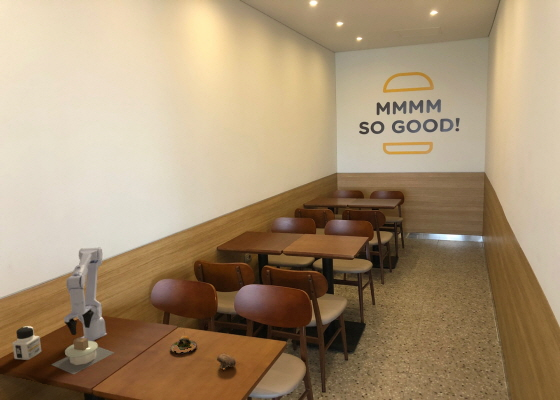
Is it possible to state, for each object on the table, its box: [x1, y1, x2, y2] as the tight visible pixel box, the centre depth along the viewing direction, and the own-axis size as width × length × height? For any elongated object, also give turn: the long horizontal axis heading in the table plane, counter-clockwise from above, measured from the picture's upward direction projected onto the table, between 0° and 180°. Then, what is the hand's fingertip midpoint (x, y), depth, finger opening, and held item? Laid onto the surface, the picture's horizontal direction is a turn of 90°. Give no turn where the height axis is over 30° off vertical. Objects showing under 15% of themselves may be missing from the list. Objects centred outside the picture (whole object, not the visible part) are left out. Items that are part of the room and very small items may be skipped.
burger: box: [169, 331, 198, 354], centre depth 195 cm, size 12×12×8 cm
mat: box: [51, 346, 115, 375], centre depth 189 cm, size 20×16×1 cm
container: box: [12, 325, 42, 361], centre depth 193 cm, size 8×8×13 cm
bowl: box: [70, 350, 97, 365], centre depth 189 cm, size 10×10×4 cm
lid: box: [64, 337, 99, 358], centre depth 188 cm, size 13×13×5 cm
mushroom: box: [216, 353, 237, 370], centre depth 179 cm, size 8×8×6 cm
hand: (80, 331), depth 194 cm, fingers open, 7 cm apart
